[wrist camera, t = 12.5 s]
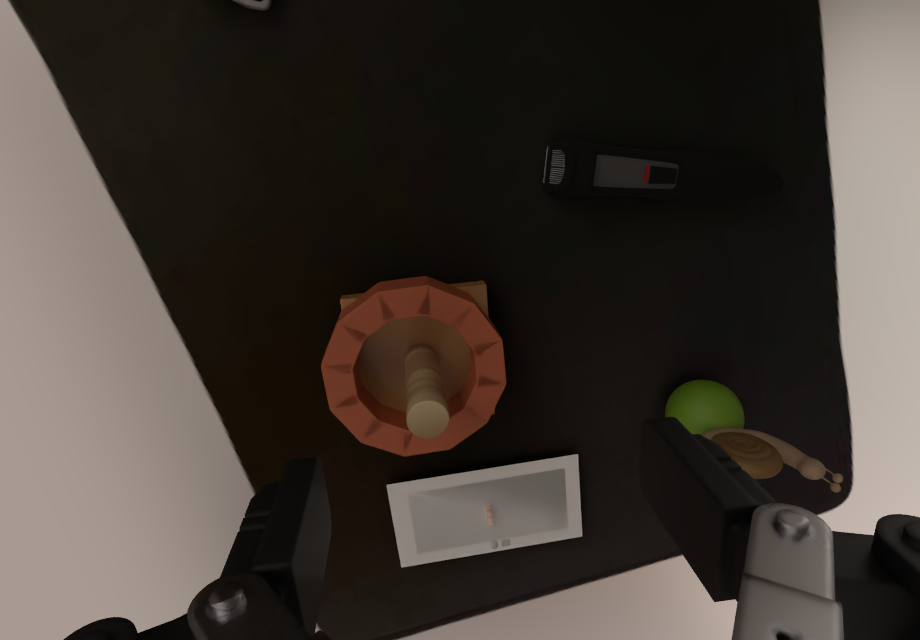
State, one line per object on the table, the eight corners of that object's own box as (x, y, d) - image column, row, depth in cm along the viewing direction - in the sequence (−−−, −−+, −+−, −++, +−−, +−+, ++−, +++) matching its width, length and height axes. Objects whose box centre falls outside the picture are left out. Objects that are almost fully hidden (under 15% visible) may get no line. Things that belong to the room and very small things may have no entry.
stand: (341, 295, 38) (323, 346, 29) (483, 280, 39) (512, 325, 30) (361, 423, 42) (350, 508, 32) (492, 407, 42) (520, 485, 33)
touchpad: (386, 476, 43) (386, 493, 41) (573, 446, 44) (582, 461, 42) (401, 557, 46) (401, 577, 44) (578, 527, 47) (586, 545, 45)
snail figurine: (724, 427, 45) (835, 523, 34) (649, 432, 45) (736, 531, 33) (734, 366, 44) (853, 444, 32) (656, 370, 43) (750, 452, 32)
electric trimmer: (749, 209, 40) (778, 215, 37) (541, 194, 38) (554, 198, 35) (761, 155, 39) (792, 156, 36) (547, 136, 37) (562, 135, 34)
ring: (313, 290, 37) (307, 301, 34) (490, 266, 38) (496, 275, 35) (344, 447, 41) (341, 466, 38) (505, 422, 41) (511, 440, 39)
